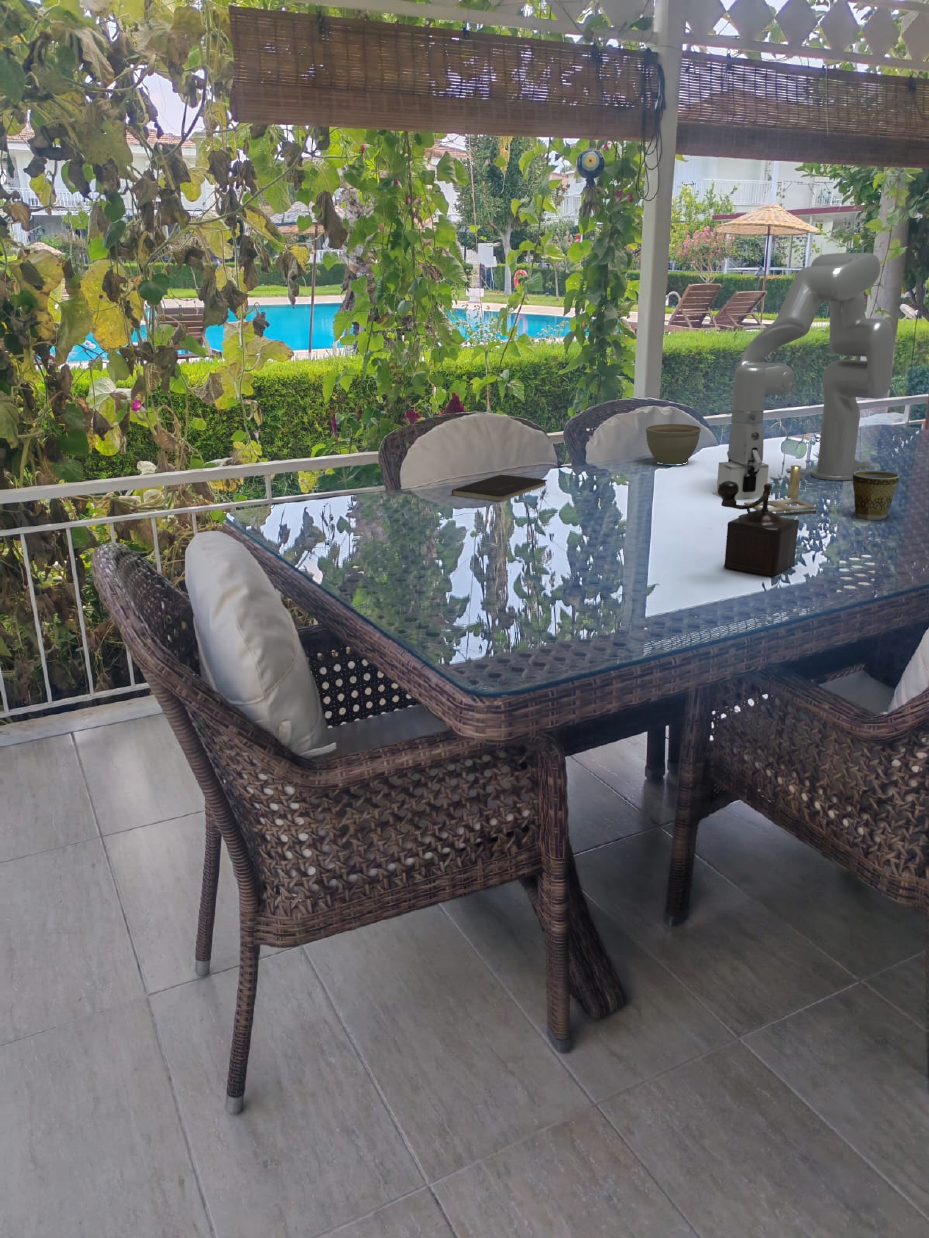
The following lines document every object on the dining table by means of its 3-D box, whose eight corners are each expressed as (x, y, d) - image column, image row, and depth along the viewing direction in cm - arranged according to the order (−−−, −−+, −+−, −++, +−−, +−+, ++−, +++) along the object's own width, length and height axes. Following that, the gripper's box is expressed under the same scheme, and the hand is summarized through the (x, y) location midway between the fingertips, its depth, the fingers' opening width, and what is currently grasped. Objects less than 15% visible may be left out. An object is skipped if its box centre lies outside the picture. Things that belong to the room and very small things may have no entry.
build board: (796, 505, 232) (796, 498, 232) (816, 513, 224) (816, 506, 223) (743, 509, 230) (744, 502, 229) (761, 517, 221) (762, 510, 221)
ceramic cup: (898, 522, 214) (904, 479, 211) (851, 521, 216) (857, 478, 213) (886, 509, 226) (891, 468, 223) (842, 508, 228) (847, 467, 225)
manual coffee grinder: (743, 556, 192) (750, 468, 186) (796, 565, 185) (805, 475, 179) (707, 574, 181) (713, 481, 175) (761, 585, 174) (770, 489, 168)
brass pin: (794, 500, 237) (797, 465, 234) (799, 502, 235) (803, 466, 232) (785, 501, 237) (789, 465, 234) (790, 503, 234) (794, 467, 231)
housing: (752, 491, 243) (755, 460, 240) (765, 496, 237) (768, 465, 234) (716, 493, 241) (718, 462, 238) (729, 499, 235) (731, 467, 232)
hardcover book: (547, 488, 260) (547, 479, 260) (501, 504, 243) (501, 495, 242) (499, 482, 269) (499, 474, 268) (451, 497, 252) (451, 489, 251)
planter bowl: (635, 461, 292) (636, 425, 288) (681, 457, 296) (683, 422, 293) (660, 470, 277) (662, 433, 274) (708, 466, 282) (711, 429, 278)
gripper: (778, 421, 225) (772, 494, 231) (744, 412, 241) (739, 481, 247) (749, 423, 224) (744, 496, 230) (717, 413, 240) (712, 482, 246)
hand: (741, 488), depth 238 cm, fingers closed on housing, 7 cm apart
